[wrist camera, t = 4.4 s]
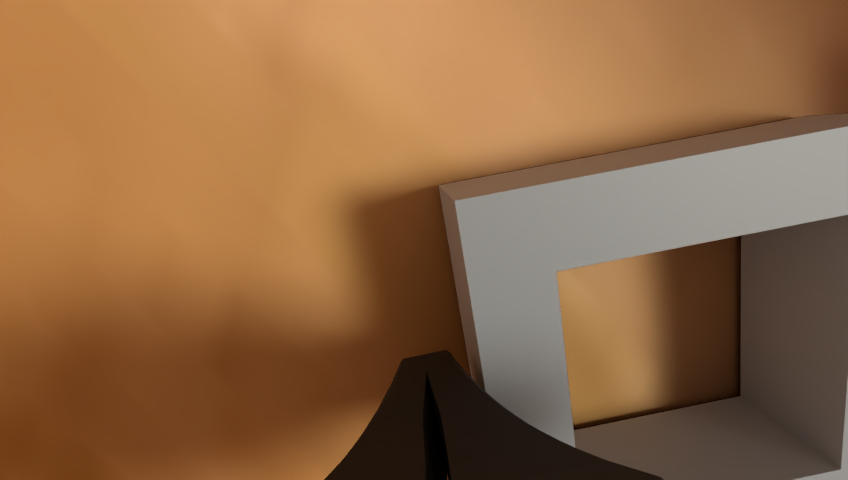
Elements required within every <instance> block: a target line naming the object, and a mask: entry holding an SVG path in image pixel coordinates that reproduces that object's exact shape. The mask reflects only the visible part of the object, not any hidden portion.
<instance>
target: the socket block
mask: <svg viewBox="0 0 848 480" xmlns="http://www.w3.org/2000/svg"><path fill="white" fill-rule="evenodd" d="M438 186H439V192H440V198H441V204H442V210H443V216H444V221H445V227H446V233H447V239H448V245H449V251H450V256H451V262H452V268H453V274H454V280H455V286H456V291H457V297H458V303H459V309H460V315H461V321H462V327H463V332H464V338H465V344H466V350H467V356H468V362H469V367H470V373H471V378H472V379H473V380H474V381H475V382H476V383H477V384H478V385H479V386H480V387H481V388H482V389H483V390H484V391H485V392H487V393H488V394H489V395H490V396H491V397H492V398H494V399H495V400H496V401H497V402H498V403H500V404H501V405H502V406H503V407H505V408H506V409H507V410H509V411H510V412H512V413H513V414H514V415H516V416H517V417H519V418H520V419H522V420H523V421H525V422H526V423H528V424H529V425H531V426H533V427H535V428H536V429H538V430H540V431H542V432H544V433H546V434H548V435H550V436H552V437H554V438H556V439H558V440H560V441H562V442H564V443H566V444H568V445H570V446H573V447H575V448H577V449H580V450H582V451H585V452H587V453H590V454H592V455H595V456H597V457H600V458H602V459H605V460H608V461H611V462H614V463H617V464H620V465H624V466H627V467H630V468H634V469H637V470H640V471H643V472H647V473H650V474H653V475H656V476H660V477H662V478H663V479H664V480H848V113H843V114H827V115H812V116H803V117H798V118H792V119H787V120H782V121H776V122H771V123H766V124H761V125H755V126H750V127H745V128H739V129H734V130H729V131H723V132H718V133H713V134H708V135H702V136H697V137H692V138H686V139H681V140H676V141H670V142H665V143H660V144H654V145H649V146H644V147H639V148H633V149H628V150H623V151H617V152H612V153H607V154H601V155H596V156H591V157H585V158H580V159H575V160H570V161H564V162H559V163H554V164H548V165H543V166H538V167H532V168H527V169H522V170H516V171H511V172H506V173H501V174H495V175H490V176H485V177H479V178H474V179H469V180H463V181H458V182H453V183H447V184H442V185H438ZM736 236H741V396H738V397H733V398H729V399H724V400H719V401H714V402H709V403H704V404H699V405H695V406H690V407H685V408H680V409H675V410H670V411H665V412H661V413H656V414H651V415H646V416H641V417H636V418H631V419H627V420H622V421H617V422H612V423H607V424H602V425H597V426H593V427H588V428H583V429H578V430H573V420H572V411H571V402H570V393H569V384H568V374H567V365H566V356H565V347H564V338H563V328H562V319H561V310H560V301H559V292H558V282H557V273H556V272H557V271H562V270H567V269H572V268H577V267H583V266H588V265H593V264H598V263H603V262H608V261H613V260H618V259H623V258H629V257H634V256H639V255H644V254H649V253H654V252H659V251H664V250H670V249H675V248H680V247H685V246H690V245H695V244H700V243H705V242H710V241H716V240H721V239H726V238H731V237H736Z"/></svg>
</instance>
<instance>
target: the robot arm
mask: <svg viewBox="0 0 848 480" xmlns="http://www.w3.org/2000/svg"><path fill="white" fill-rule="evenodd" d="M447 475H448V479H449V480H664V479H663V478H662V477H660V476H656V475H653V474H650V473H647V472H643V471H640V470H637V469H634V468H630V467H627V466H624V465H620V464H617V463H614V462H611V461H608V460H605V459H602V458H600V457H597V456H595V455H592V454H590V453H587V452H585V451H582V450H580V449H577V448H575V447H573V446H570V445H568V444H566V443H564V442H562V441H560V440H558V439H556V438H554V437H552V436H550V435H548V434H546V433H544V432H542V431H540V430H538V429H536V428H535V427H533V426H531V425H529V424H528V423H526V422H525V421H523V420H522V419H520V418H519V417H517V416H516V415H514V414H513V413H512V412H510V411H509V410H507V409H506V408H505V407H503V406H502V405H501V404H500V403H498V402H497V401H496V400H495V399H494V398H492V397H491V396H490V395H489V394H488V393H487V392H485V391H484V390H483V389H482V388H481V387H480V386H479V385H478V384H477V383H476V382H475V381H474V380H473V379H472V378H471V377H470V376H469V375H468V374H467V373H466V372H465V371H464V370H463V369H462V367H461V366H460V365H459V364H458V363H457V361H456V360H455V359H454V357H453V356H452V354H451V353H450V352H448V351H447V350H445V351H440V352H435V353H430V354H425V355H420V356H415V357H410V358H405V359H403V360H402V361H401V363H400V365H399V367H398V370H397V372H396V375H395V377H394V379H393V381H392V383H391V385H390V388H389V390H388V391H387V393H386V395H385V397H384V399H383V401H382V403H381V405H380V406H379V408H378V410H377V412H376V413H375V415H374V416H373V418H372V420H371V421H370V423H369V424H368V426H367V428H366V429H365V431H364V432H363V434H362V435H361V436H360V438H359V439H358V441H357V442H356V443H355V445H354V446H353V447H352V449H351V450H350V451H349V453H348V454H347V455H346V456H345V458H344V459H343V460H342V461H341V462H340V463H339V464H338V466H337V467H336V468H335V469H334V470H333V471H332V472H331V473H330V474H329V475H328V476H327V477H326V478H325V479H324V480H447Z"/></svg>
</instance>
